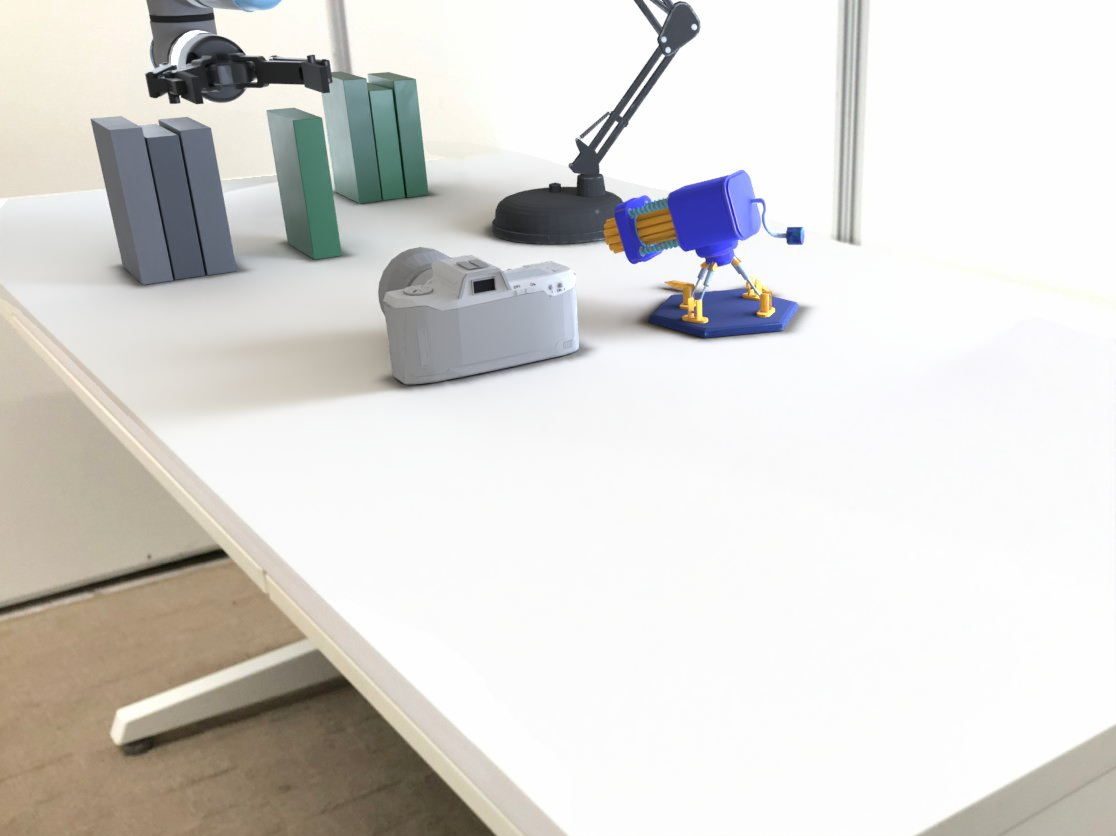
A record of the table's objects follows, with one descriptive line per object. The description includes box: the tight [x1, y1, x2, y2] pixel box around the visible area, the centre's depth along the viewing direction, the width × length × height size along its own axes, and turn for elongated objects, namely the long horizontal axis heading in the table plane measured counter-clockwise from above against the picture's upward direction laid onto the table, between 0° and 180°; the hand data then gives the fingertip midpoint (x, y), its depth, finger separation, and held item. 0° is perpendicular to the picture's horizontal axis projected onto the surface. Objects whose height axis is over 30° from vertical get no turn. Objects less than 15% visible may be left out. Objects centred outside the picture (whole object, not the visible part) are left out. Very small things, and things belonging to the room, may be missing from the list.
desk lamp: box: [491, 0, 702, 245], centre depth 139 cm, size 24×26×45 cm
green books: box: [320, 71, 429, 204], centre depth 164 cm, size 9×9×14 cm
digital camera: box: [377, 246, 580, 385], centre depth 107 cm, size 17×14×10 cm
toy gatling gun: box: [604, 169, 805, 339], centre depth 116 cm, size 14×18×13 cm
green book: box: [265, 107, 343, 260], centre depth 137 cm, size 9×3×14 cm, turn 34°
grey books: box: [90, 115, 238, 286], centre depth 130 cm, size 9×9×15 cm
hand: (262, 85), depth 140 cm, fingers open, 13 cm apart
